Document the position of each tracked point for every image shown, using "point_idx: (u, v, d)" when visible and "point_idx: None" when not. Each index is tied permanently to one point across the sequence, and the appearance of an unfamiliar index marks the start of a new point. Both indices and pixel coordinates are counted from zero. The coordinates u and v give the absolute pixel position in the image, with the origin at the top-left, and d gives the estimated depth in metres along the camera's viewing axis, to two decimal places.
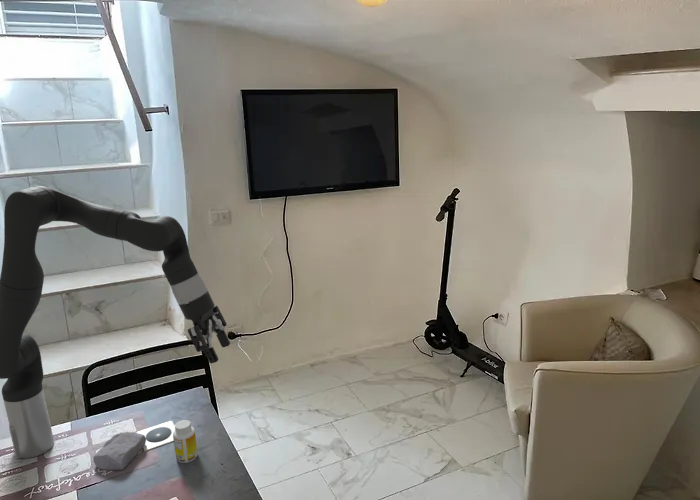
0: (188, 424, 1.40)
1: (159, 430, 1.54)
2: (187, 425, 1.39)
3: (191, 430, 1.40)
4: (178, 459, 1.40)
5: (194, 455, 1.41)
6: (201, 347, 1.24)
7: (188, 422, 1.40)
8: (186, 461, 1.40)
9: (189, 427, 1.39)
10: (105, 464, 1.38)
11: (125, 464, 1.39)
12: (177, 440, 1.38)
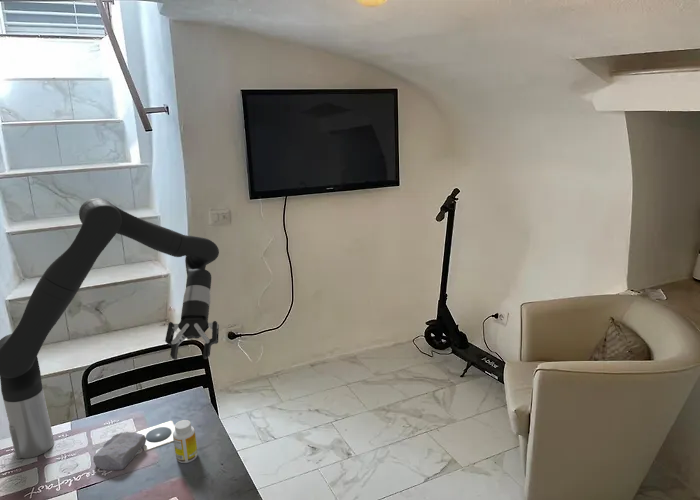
0: (188, 424, 1.40)
1: (159, 430, 1.54)
2: (187, 425, 1.39)
3: (191, 430, 1.40)
4: (178, 459, 1.40)
5: (194, 455, 1.41)
6: (216, 339, 1.50)
7: (188, 422, 1.40)
8: (186, 461, 1.40)
9: (189, 427, 1.39)
10: (105, 464, 1.38)
11: (125, 464, 1.39)
12: (177, 440, 1.38)
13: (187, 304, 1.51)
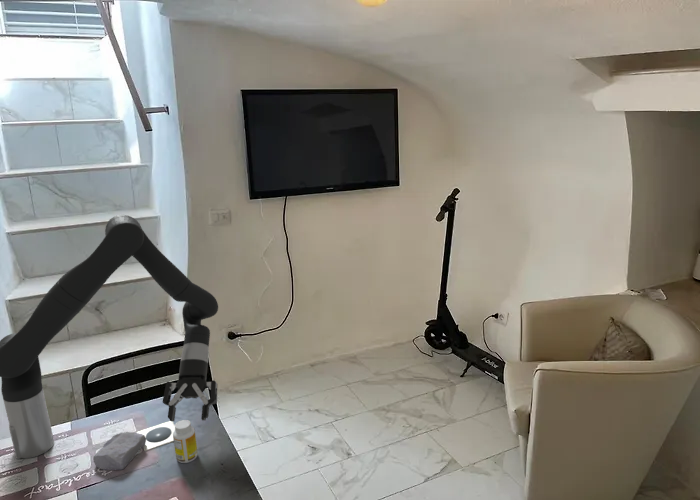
0: (188, 424, 1.40)
1: (159, 430, 1.54)
2: (187, 425, 1.39)
3: (191, 430, 1.40)
4: (178, 459, 1.40)
5: (194, 455, 1.41)
6: (215, 399, 1.47)
7: (188, 422, 1.40)
8: (186, 461, 1.40)
9: (189, 427, 1.39)
10: (105, 464, 1.38)
11: (125, 464, 1.39)
12: (177, 440, 1.38)
13: (185, 363, 1.48)
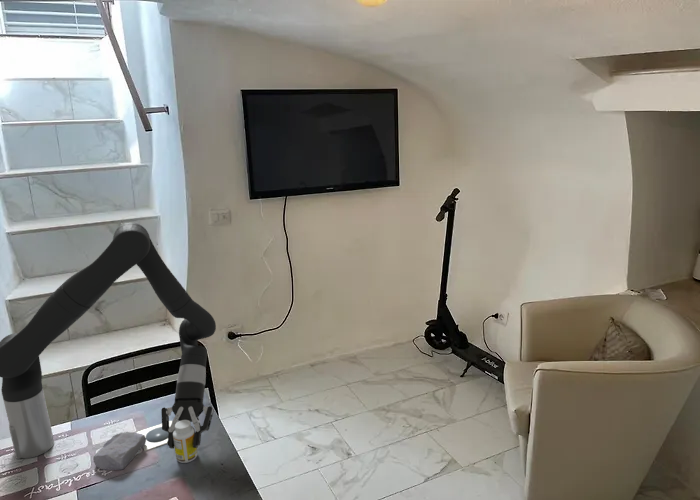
0: (188, 424, 1.40)
1: (159, 430, 1.54)
2: (187, 425, 1.39)
3: (191, 430, 1.40)
4: (178, 459, 1.40)
5: (194, 455, 1.41)
6: (207, 426, 1.43)
7: (188, 422, 1.40)
8: (186, 461, 1.40)
9: (189, 427, 1.39)
10: (105, 464, 1.38)
11: (125, 464, 1.39)
12: (177, 440, 1.38)
13: (181, 386, 1.44)
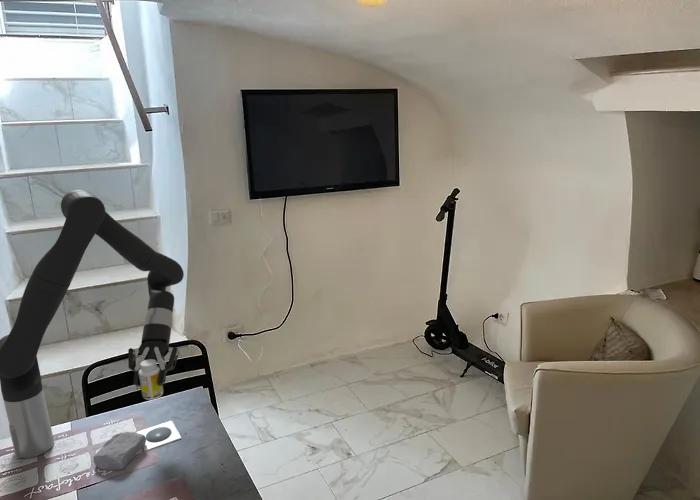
0: (153, 362, 1.45)
1: (159, 430, 1.54)
2: (152, 363, 1.45)
3: (156, 368, 1.46)
4: (144, 396, 1.46)
5: (159, 392, 1.47)
6: (172, 365, 1.48)
7: (153, 361, 1.46)
8: (151, 398, 1.46)
9: (154, 365, 1.45)
10: (105, 464, 1.38)
11: (125, 464, 1.39)
12: (142, 377, 1.44)
13: (148, 327, 1.50)
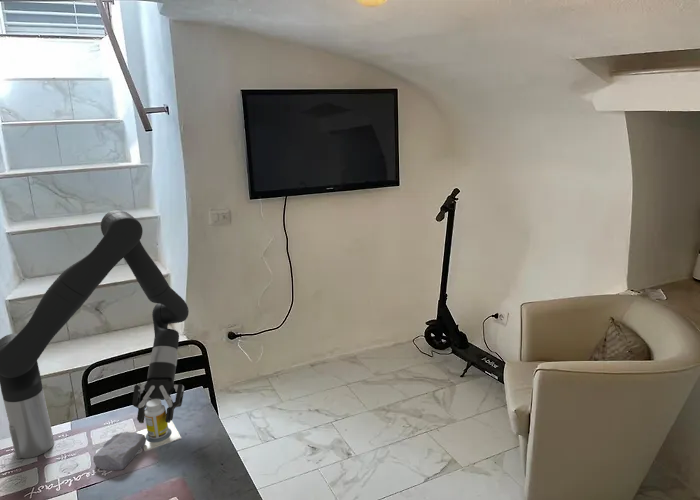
0: (159, 402, 1.49)
1: None
2: (158, 403, 1.49)
3: (162, 408, 1.50)
4: (149, 435, 1.50)
5: (164, 431, 1.50)
6: (180, 402, 1.52)
7: (159, 401, 1.50)
8: (157, 437, 1.49)
9: (160, 405, 1.49)
10: (105, 464, 1.38)
11: (125, 464, 1.39)
12: (148, 417, 1.48)
13: (153, 366, 1.53)
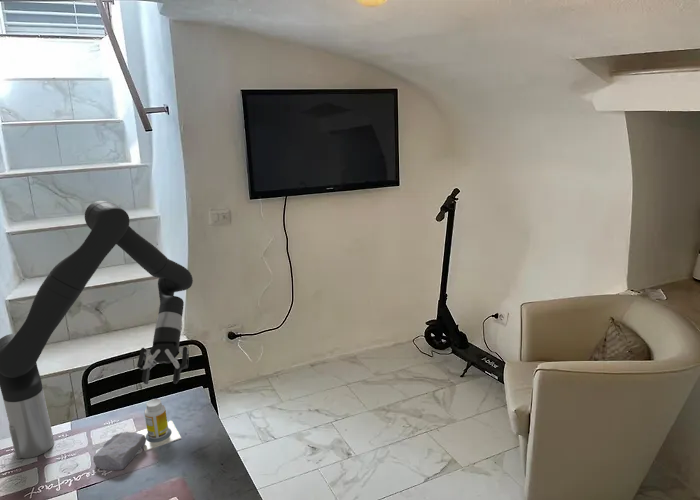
0: (159, 402, 1.49)
1: None
2: (158, 403, 1.49)
3: (162, 408, 1.50)
4: (149, 435, 1.50)
5: (164, 431, 1.50)
6: (186, 364, 1.57)
7: (159, 401, 1.50)
8: (157, 437, 1.49)
9: (160, 405, 1.49)
10: (105, 464, 1.38)
11: (125, 464, 1.39)
12: (148, 417, 1.48)
13: (159, 330, 1.58)
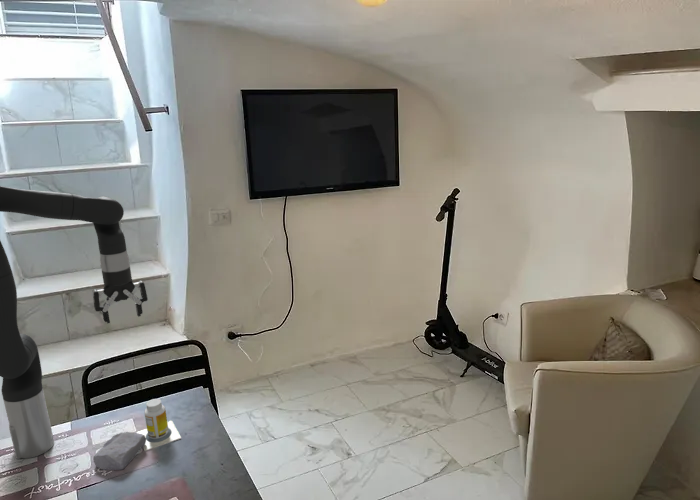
0: (159, 402, 1.49)
1: None
2: (158, 403, 1.49)
3: (162, 408, 1.50)
4: (149, 435, 1.50)
5: (164, 431, 1.50)
6: None
7: (159, 401, 1.50)
8: (157, 437, 1.49)
9: (160, 405, 1.49)
10: (105, 464, 1.38)
11: (125, 464, 1.39)
12: (148, 417, 1.48)
13: (113, 275, 1.49)
